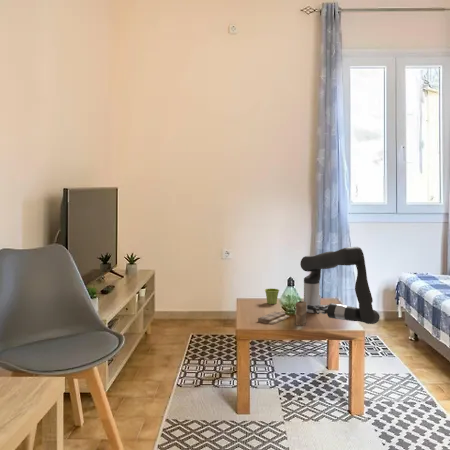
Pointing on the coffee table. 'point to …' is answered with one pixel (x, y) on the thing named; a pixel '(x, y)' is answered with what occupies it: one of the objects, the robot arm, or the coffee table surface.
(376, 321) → the robot arm
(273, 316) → the floor board
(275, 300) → the plant pot
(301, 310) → the plank
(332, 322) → the coffee table surface
